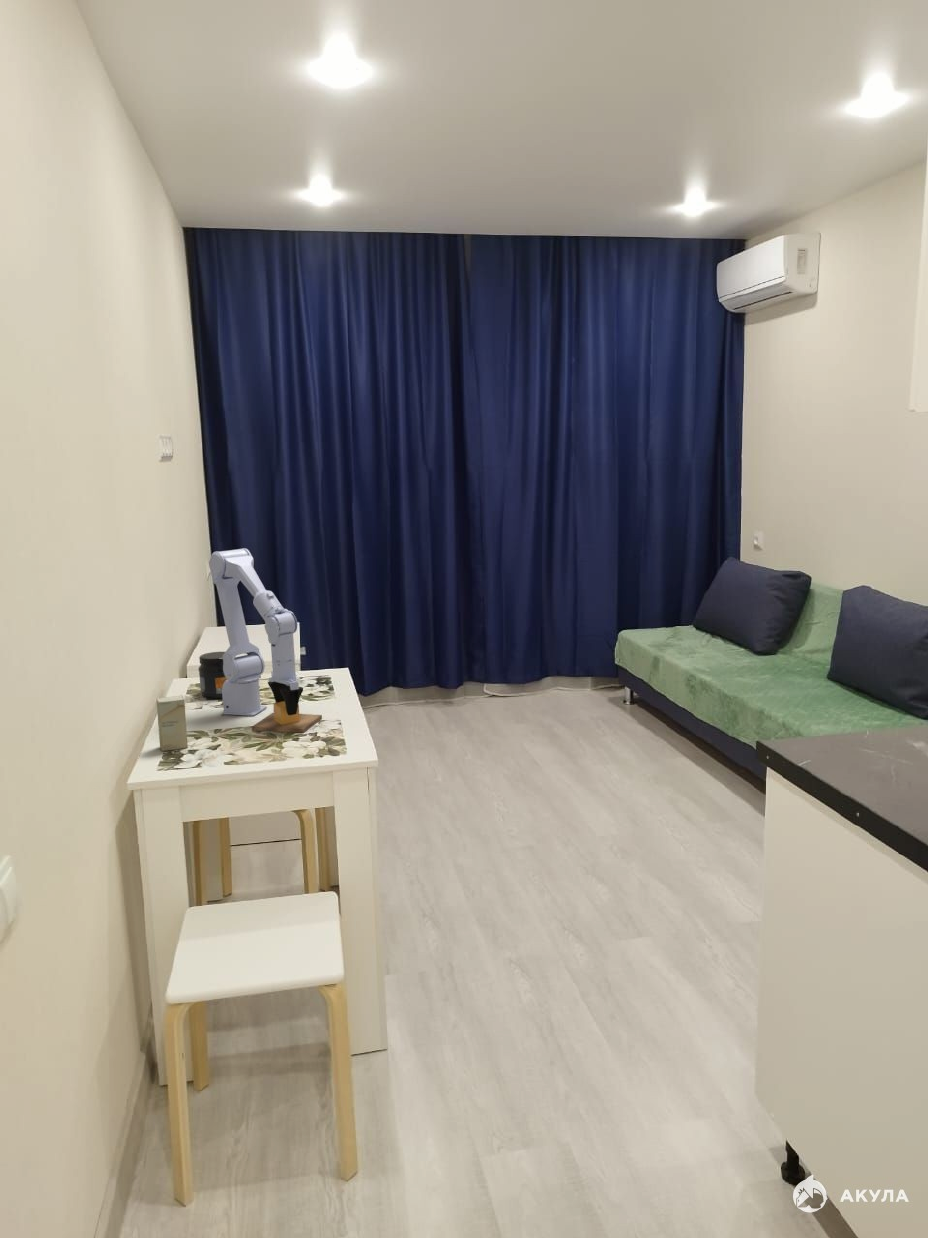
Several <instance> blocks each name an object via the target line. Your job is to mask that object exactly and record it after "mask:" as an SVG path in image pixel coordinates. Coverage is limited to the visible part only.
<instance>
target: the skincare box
mask: <svg viewBox="0 0 928 1238" xmlns="http://www.w3.org/2000/svg"><path fill="white" fill-rule="evenodd" d="M155 700H156V711H157V724H158V725H157V726H158V736H159V737H158V739H159V740H158V741H159V747H160V750H161V751H162V752H166V751H174V750H180V749H182V750H183V749H187V748H188V747H189V744H188V733H187V719H186V718H187V717H186V706H185V705H186V702H185V697H184V696H183V694H181V695H174V696H165V697H158V698H156V699H155Z"/></svg>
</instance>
